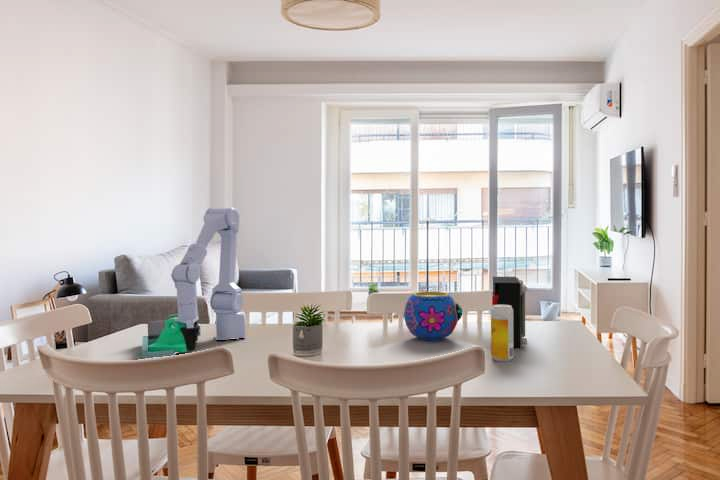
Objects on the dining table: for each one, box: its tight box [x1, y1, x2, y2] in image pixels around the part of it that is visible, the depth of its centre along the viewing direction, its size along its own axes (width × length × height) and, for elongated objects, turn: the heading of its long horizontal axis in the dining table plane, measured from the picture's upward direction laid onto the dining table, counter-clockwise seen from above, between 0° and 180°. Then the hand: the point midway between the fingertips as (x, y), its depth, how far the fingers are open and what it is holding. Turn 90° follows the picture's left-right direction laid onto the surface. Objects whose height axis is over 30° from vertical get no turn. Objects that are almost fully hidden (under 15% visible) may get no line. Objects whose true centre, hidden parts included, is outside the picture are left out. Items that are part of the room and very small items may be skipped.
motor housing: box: [147, 313, 201, 341], centre depth 182 cm, size 16×8×10 cm, turn 110°
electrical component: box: [491, 276, 528, 350], centre depth 178 cm, size 18×10×20 cm, turn 168°
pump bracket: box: [141, 335, 175, 360], centre depth 168 cm, size 8×21×4 cm, turn 20°
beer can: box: [490, 304, 514, 362], centre depth 157 cm, size 6×6×15 cm
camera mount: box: [148, 317, 196, 353], centre depth 171 cm, size 12×8×10 cm, turn 84°
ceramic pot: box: [403, 291, 463, 342], centre depth 184 cm, size 18×18×15 cm
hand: (189, 347), depth 172 cm, fingers open, 7 cm apart
